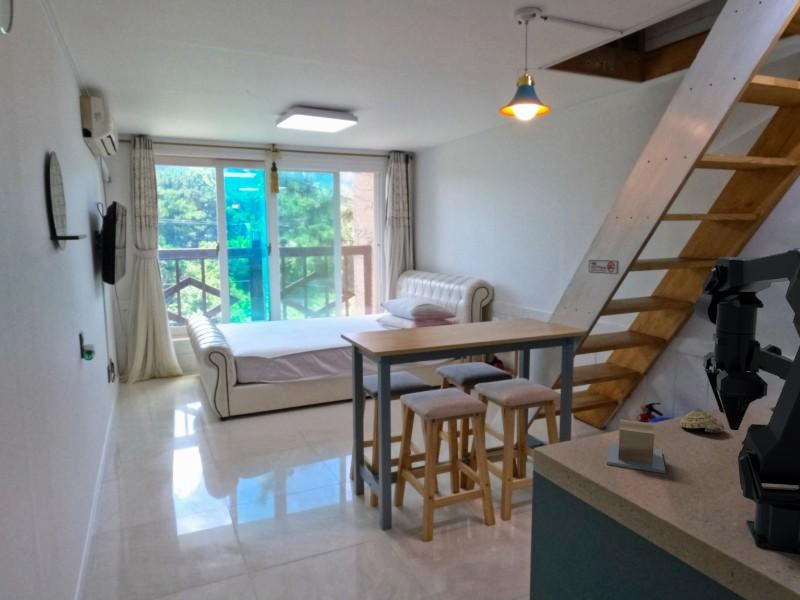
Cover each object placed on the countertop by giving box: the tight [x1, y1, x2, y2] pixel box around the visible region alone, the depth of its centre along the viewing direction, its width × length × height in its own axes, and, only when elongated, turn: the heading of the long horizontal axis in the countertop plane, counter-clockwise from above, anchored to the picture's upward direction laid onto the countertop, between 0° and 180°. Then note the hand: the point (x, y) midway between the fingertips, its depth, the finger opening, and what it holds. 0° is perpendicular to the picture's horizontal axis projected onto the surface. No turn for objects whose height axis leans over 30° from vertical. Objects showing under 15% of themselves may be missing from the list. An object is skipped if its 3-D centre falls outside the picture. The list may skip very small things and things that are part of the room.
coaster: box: [606, 442, 666, 474], centre depth 103 cm, size 10×10×1 cm
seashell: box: [679, 408, 726, 434], centre depth 118 cm, size 8×6×8 cm
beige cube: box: [618, 419, 655, 464], centre depth 102 cm, size 6×6×6 cm
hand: (728, 420), depth 90 cm, fingers open, 9 cm apart
